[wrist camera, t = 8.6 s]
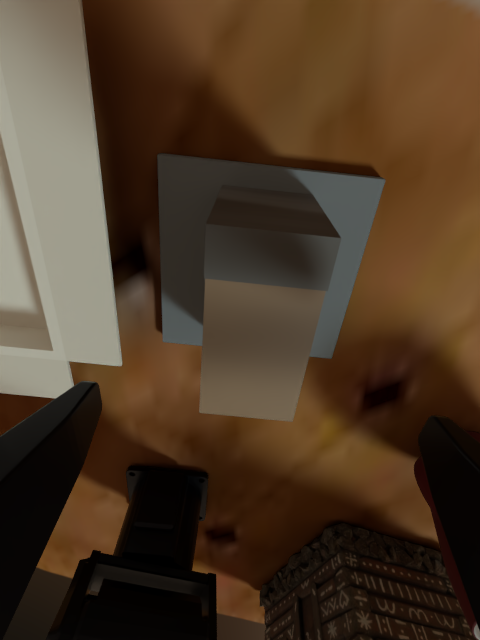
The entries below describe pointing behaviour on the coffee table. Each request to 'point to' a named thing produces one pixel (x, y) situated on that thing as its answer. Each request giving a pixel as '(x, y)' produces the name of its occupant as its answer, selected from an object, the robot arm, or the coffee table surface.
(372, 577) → the model building
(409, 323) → the coffee table surface
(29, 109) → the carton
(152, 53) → the coffee table surface
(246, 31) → the coffee table surface
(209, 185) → the slate mat
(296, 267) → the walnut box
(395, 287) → the coffee table surface
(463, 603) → the mug
